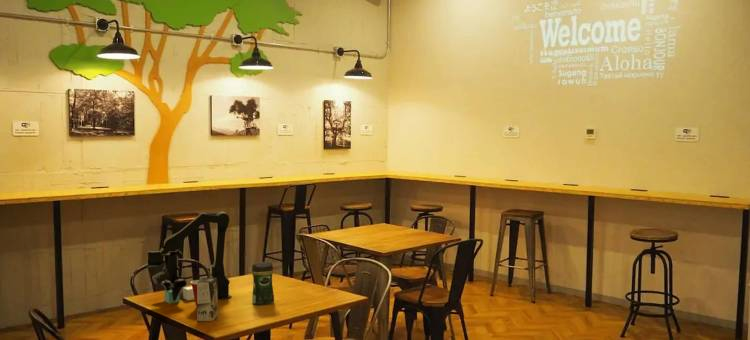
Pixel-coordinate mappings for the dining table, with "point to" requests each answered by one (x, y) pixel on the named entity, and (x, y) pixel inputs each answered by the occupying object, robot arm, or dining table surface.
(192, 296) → the cream block
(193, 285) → the plastic cup
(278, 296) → the dining table surface
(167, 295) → the teal block
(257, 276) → the coffee jar
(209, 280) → the coffee box
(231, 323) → the dining table surface
